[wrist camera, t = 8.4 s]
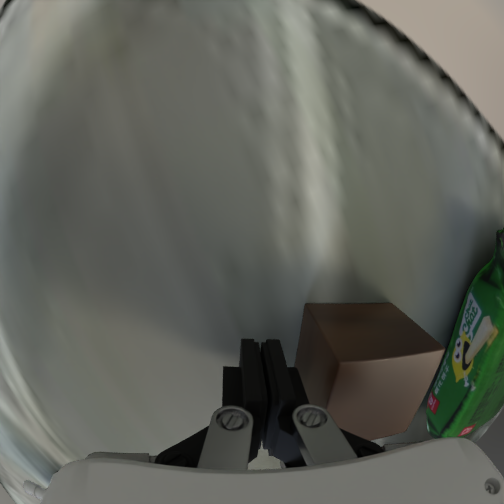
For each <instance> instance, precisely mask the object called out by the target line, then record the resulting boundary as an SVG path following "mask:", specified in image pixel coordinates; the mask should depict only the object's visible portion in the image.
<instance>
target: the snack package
mask: <svg viewBox="0 0 504 504" xmlns="http://www.w3.org/2000/svg"><path fill="white" fill-rule="evenodd" d="M503 404H504V228H503V229H502V230H498V231H497V232H496V246H495V252H494V256H493V258H492V259H491V261H490V262H489V263H488V264H486V265H485V266H484V267H483V268H482V269H481V270H480V271H479V273H478V274H477V275H476V277H475V278H474V280H473V282H472V283H471V285H470V287H469V289H468V291H467V294H466V297H465V299H464V302H463V305H462V308H461V310H460V313H459V316H458V319H457V322H456V325H455V328H454V331H453V334H452V338H451V340H450V343H449V346H448V349H447V351H446V354H445V356H444V359H443V362H442V365H441V368H440V371H439V374H438V376H437V379H436V381H435V383H434V385H433V387H432V390H431V392H430V395H429V398H428V405H427V409H426V414H427V430H428V432H429V434H430V435H431V436H432V437H434V438H435V439H439V438H446V437H459V438H463V437H465V436H467V435H468V434H470V433H472V432H473V431H475V430H476V429H478V428H479V427H480V426H482V425H483V424H485V423H486V422H488V421H489V420H491V419H492V418H493V417H494V416H495V415H496V414H497V413H498V412H499V410H500V409H501V407H502V406H503Z"/></svg>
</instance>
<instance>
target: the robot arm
mask: <svg viewBox="0 0 504 504" xmlns="http://www.w3.org/2000/svg"><path fill="white" fill-rule="evenodd" d="M261 441H262V443H263V449H268V453H269V456H274V457H276V458H278V459H279V460H280V466H281V468H282V469H264V470H247V469H248V463H249V462H251V461H252V460H253V459H254V458H256V457H257V454H258V449H260V447H261ZM50 481H51V483H50V484H49V486H48V488H47V489H44V488H42V487H41V486H39V485H37V484H35V483H33V482H31V481H29V480H25V481H24V483H23V489H24V491H25V492H26V493H28V494H30V495H32V496H34V497H36V498H38V499H41V504H504V478H503V477H502V475H501V474H500V472H499V471H498V470H497V468H496V467H495V466H494V464H493V463H492V462H491V460H490V459H489V458H488V457H487V456H486V454H485V453H484V452H483V451H482V450H481V449H480V448H479V447H478V446H477V445H476V444H475V443H473V442H472V441H470V440H468V439H465V438H459V437H446V438H439V439H433V440H428V441H419V442H409V443H397V444H384V446H383V447H380V446H379V445H378V444H376V443H374V442H371V441H369V440H366V439H364V438H361V437H359V436H357V435H354V434H352V433H350V432H347V431H345V430H343V429H341V428H339V427H338V425H337V424H336V422H335V421H334V419H333V418H332V416H331V414H330V413H329V412H328V411H327V410H326V409H325V408H323V407H321V406H318V405H314V404H310V403H309V401H308V398H307V395H306V392H305V389H304V386H303V383H302V380H301V377H300V374H299V371H298V369H297V368H296V367H287V364H286V361H285V358H284V354H283V351H282V347H281V344H280V341H279V340H277V339H267V340H266V343H265V342H262V343H261V351H260V348H259V343H258V342H254V339H241V347H240V362H239V367H226V366H223V397H222V407H221V408H219V409H217V410H216V411H215V412H214V413H213V415H212V418H211V421H210V425H209V426H208V427H206V428H204V429H203V430H201V431H199V432H197V433H196V434H194V435H192V436H190V437H189V438H187V439H185V440H183V441H181V442H180V443H178V444H176V445H174V446H172V447H170V448H168V449H166V450H165V451H163V452H161V453H160V454H158V456H149V453H111V452H94V453H92V454H89V455H88V456H87V457H86V458H85V459H82V460H77V461H73V462H70V463H68V464H66V465H65V466H63V467H62V468H61V469H60V470H59V471H58V472H56V473H54V474H53V476H52V478H51V480H50Z"/></svg>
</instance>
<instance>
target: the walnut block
mask: <svg viewBox="0 0 504 504" xmlns="http://www.w3.org/2000/svg"><path fill="white" fill-rule="evenodd" d="M444 351H445V348H444V347H443V346H442V345H441V344H440V343H439V342H438V341H436V340H435V339H434V338H433V337H432V336H431V335H429V334H428V333H427V332H426V331H425V330H424V329H422V328H421V327H420V326H419V325H418V324H416V323H415V322H414V321H413V320H412V319H410V318H409V317H408V316H407V315H406V314H404V313H403V312H402V311H401V310H400V309H398V308H397V307H396V306H395V305H393V304H392V303H366V304H305V307H304V313H303V320H302V326H301V332H300V338H299V344H298V349H297V355H296V361H295V366H294V367H296V368H297V369H298V371H299V374H300V377H301V380H302V383H303V386H304V389H305V392H306V395H307V398H308V401H309V403H310V404H314V405H318V406H321V407H323V408H325V409H326V410H327V411H328V412H329V413H330V414H331V416H332V418H333V419H334V421H335V422H336V424H337V425H338V427H339V428H341V429H343V430H345V431H347V432H350V433H352V434H354V435H357V436H359V437H361V438H364V439H366V440H369V441H371V440H375V439H379V438H383V437H387V436H391V435H395V434H399V433H402V432H405V431H406V430H407V428H408V427H409V425H410V423H411V421H412V420H413V418H414V416H415V414H416V412H417V410H418V408H419V407H420V405H421V403H422V401H423V399H424V397H425V395H426V393H427V391H428V388H429V386H430V384H431V382H432V380H433V378H434V375H435V373H436V371H437V369H438V366H439V364H440V361H441V359H442V356H443V354H444Z"/></svg>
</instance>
